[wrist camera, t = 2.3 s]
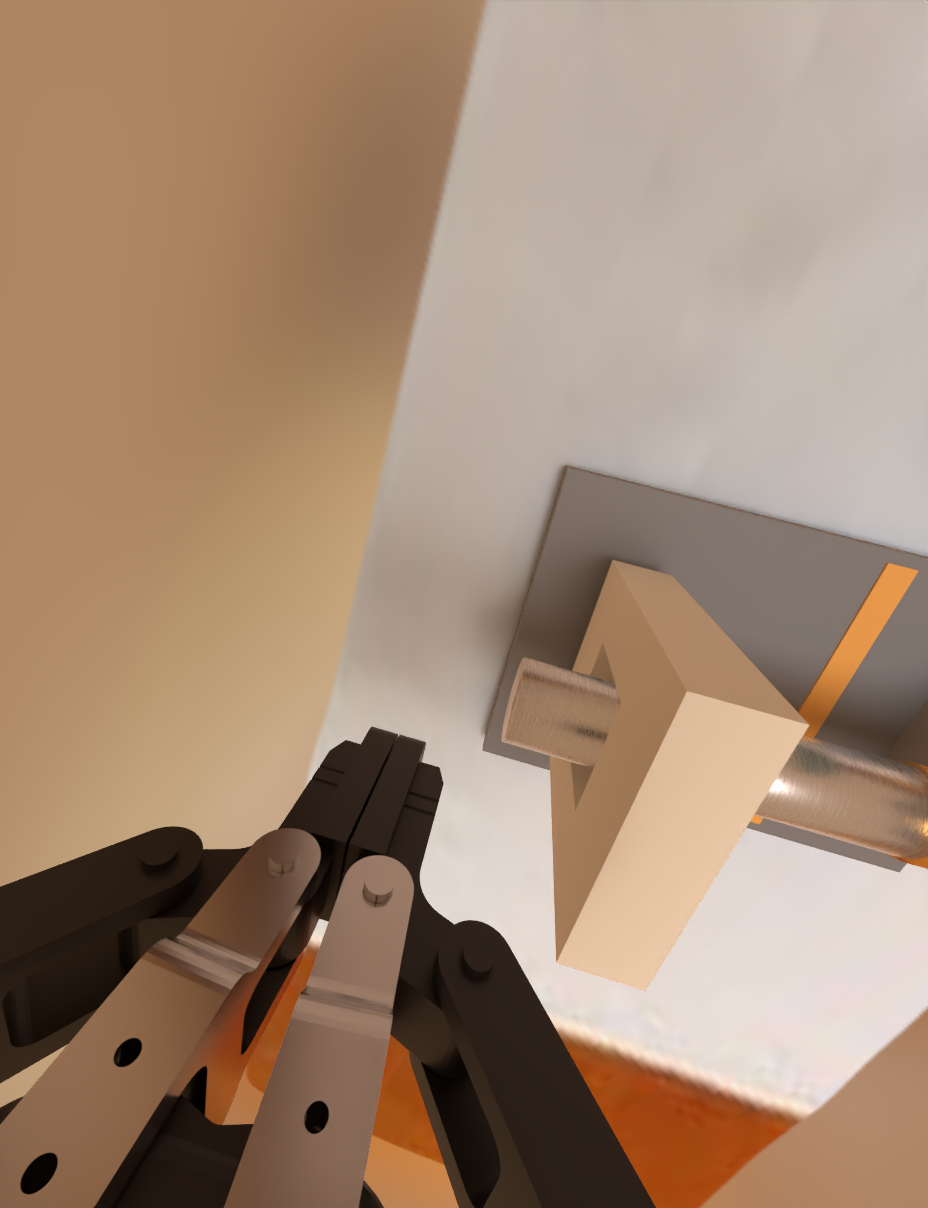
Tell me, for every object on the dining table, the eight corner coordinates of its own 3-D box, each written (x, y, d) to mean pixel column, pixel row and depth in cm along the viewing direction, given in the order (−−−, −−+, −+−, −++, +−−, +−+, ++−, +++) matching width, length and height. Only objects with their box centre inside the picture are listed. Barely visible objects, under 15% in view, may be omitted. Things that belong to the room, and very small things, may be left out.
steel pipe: (526, 639, 17) (524, 683, 14) (1061, 787, 16) (1179, 868, 13) (504, 710, 18) (497, 764, 15) (1001, 853, 17) (1097, 940, 14)
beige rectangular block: (612, 559, 19) (687, 691, 10) (671, 575, 19) (809, 724, 10) (549, 733, 23) (556, 962, 13) (599, 747, 23) (645, 991, 13)
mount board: (566, 465, 21) (594, 501, 10) (1076, 595, 20) (1704, 787, 9) (485, 733, 27) (448, 936, 16) (879, 848, 25) (1127, 1152, 15)
